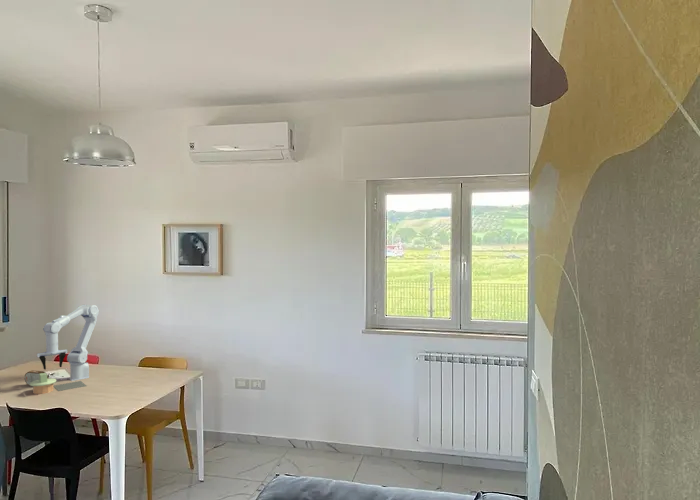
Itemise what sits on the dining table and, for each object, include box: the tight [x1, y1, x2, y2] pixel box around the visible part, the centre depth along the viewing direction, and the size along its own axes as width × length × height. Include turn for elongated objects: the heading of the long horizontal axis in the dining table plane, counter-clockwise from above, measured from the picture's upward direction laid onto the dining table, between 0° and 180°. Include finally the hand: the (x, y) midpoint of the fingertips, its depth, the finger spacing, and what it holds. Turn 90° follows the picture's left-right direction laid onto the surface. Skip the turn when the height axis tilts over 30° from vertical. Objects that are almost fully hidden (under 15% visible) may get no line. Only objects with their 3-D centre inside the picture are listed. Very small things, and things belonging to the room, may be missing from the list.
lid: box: [29, 372, 57, 387], centre depth 258 cm, size 12×12×5 cm
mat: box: [53, 380, 87, 392], centre depth 268 cm, size 14×14×1 cm
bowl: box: [32, 383, 54, 395], centre depth 258 cm, size 9×9×5 cm
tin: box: [24, 370, 49, 386], centre depth 270 cm, size 15×3×8 cm, turn 74°
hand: (52, 368), depth 269 cm, fingers open, 7 cm apart
